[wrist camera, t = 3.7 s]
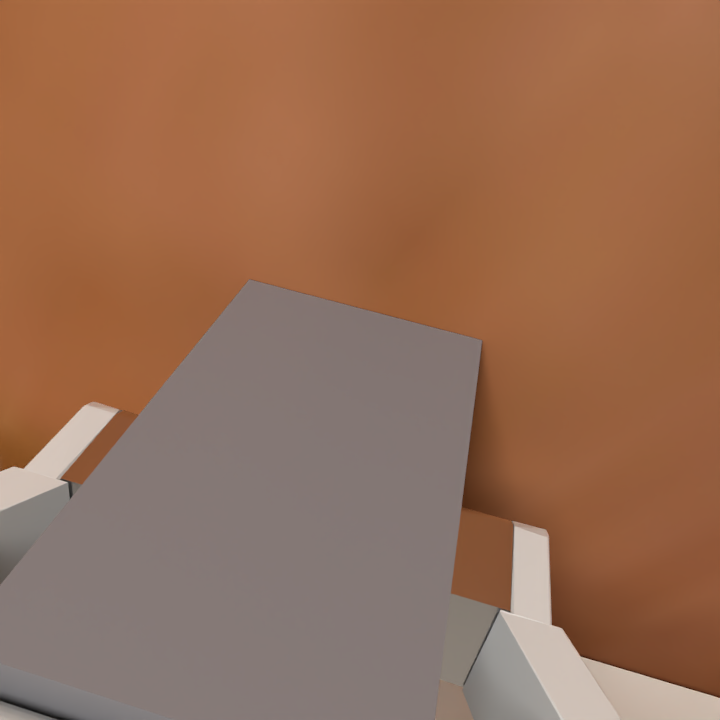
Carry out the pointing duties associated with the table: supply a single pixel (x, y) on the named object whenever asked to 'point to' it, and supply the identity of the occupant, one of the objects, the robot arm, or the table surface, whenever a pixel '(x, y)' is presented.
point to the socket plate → (613, 697)
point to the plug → (259, 531)
